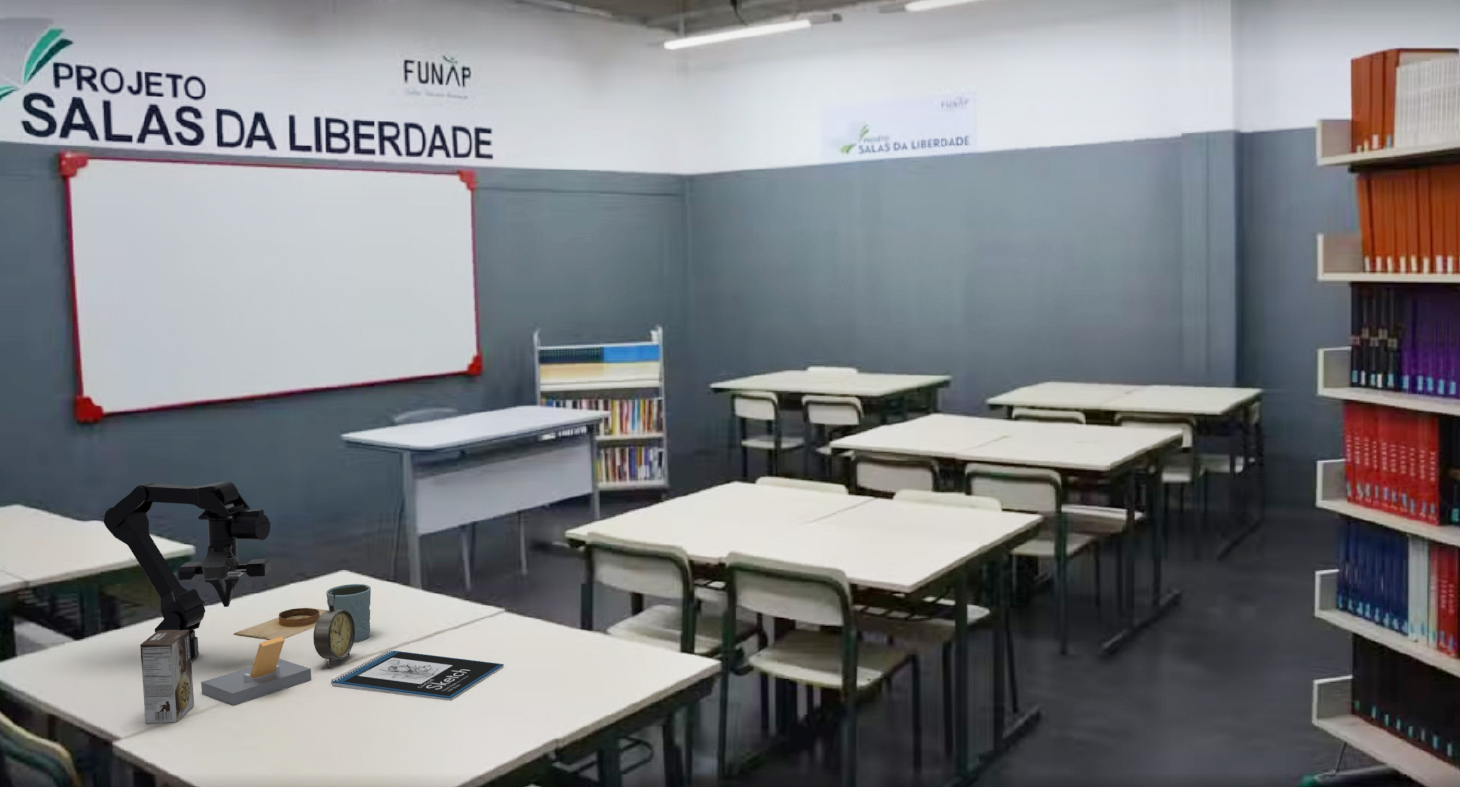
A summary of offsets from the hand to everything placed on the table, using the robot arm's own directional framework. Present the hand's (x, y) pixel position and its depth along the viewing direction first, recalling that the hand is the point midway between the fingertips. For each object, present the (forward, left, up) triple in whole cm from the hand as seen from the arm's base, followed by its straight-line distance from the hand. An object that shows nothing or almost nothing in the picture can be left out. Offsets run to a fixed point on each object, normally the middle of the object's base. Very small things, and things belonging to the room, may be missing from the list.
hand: (226, 606), depth 258 cm
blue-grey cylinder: (+24, +14, -13) cm, 31 cm away
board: (+7, +28, -14) cm, 33 cm away
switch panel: (+11, -18, -13) cm, 24 cm away
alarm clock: (+24, -4, -13) cm, 27 cm away
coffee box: (-3, -31, -13) cm, 34 cm away
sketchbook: (+44, -17, -14) cm, 49 cm away
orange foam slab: (+12, -19, -10) cm, 25 cm away
